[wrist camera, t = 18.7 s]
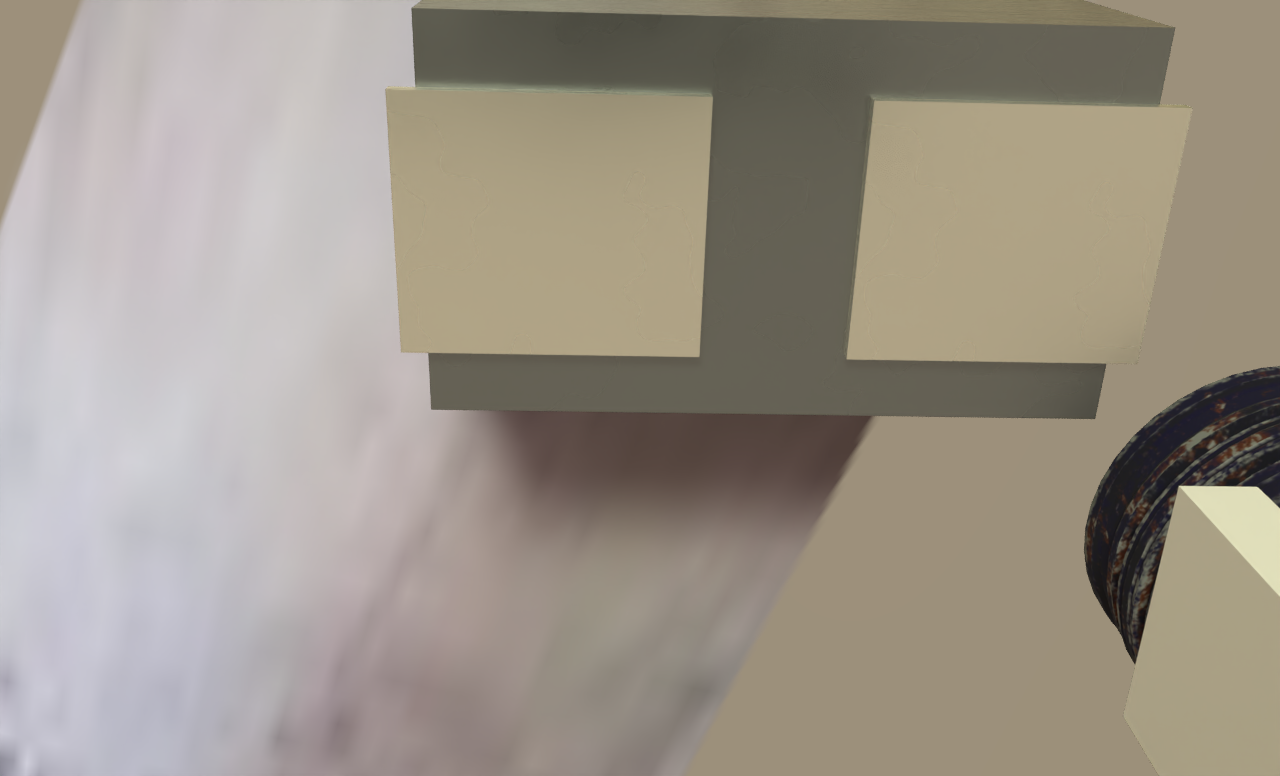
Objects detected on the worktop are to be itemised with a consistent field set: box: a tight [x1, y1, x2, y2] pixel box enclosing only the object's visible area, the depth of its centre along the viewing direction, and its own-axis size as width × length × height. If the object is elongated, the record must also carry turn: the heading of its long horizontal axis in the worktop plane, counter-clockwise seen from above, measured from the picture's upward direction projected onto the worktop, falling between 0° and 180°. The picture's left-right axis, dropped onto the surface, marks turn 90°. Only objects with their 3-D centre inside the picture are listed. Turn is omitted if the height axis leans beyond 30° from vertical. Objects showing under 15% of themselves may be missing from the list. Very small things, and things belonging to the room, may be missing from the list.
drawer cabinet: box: [386, 0, 1193, 419], centre depth 26 cm, size 15×8×6 cm, turn 88°
